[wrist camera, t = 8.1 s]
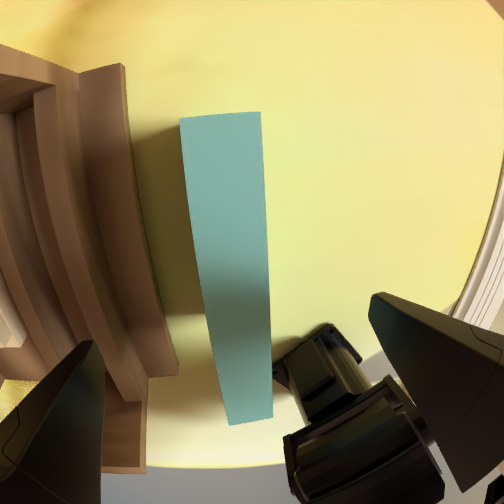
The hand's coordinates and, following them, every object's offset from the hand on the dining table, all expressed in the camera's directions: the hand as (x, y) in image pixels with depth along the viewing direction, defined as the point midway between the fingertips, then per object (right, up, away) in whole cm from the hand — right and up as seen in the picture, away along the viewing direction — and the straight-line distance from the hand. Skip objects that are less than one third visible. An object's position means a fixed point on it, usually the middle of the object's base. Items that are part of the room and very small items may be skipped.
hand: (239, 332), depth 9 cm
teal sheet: (-2, +4, +9) cm, 10 cm away
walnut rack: (-14, +2, +7) cm, 16 cm away
